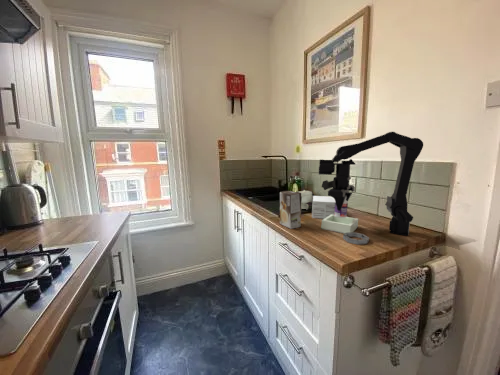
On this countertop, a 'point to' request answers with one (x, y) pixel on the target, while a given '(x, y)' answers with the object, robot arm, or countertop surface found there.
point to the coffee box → (290, 209)
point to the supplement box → (323, 206)
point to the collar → (355, 241)
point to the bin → (339, 224)
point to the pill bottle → (343, 211)
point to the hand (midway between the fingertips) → (341, 209)
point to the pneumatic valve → (306, 198)
